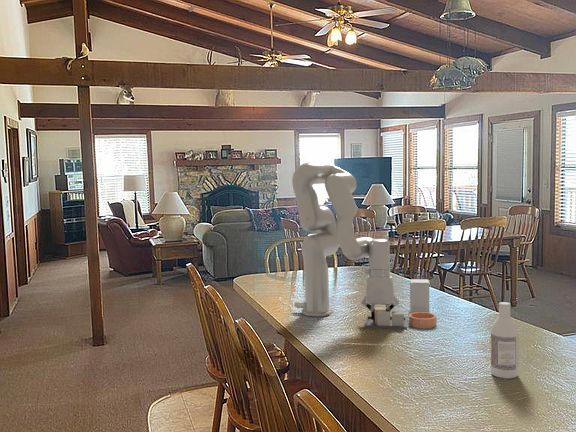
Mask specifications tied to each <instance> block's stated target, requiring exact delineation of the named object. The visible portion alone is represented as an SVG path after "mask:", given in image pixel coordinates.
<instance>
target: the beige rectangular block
mask: <svg viewBox="0 0 576 432" xmlns="http://www.w3.org/2000/svg"><path fill="white" fill-rule="evenodd" d="M374 309H375V324H377V312H378V311H386V307H378V306H377V307H375V306H374Z"/></svg>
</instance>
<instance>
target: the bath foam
mask: <svg viewBox="0 0 576 432" xmlns="http://www.w3.org/2000/svg"><path fill="white" fill-rule="evenodd" d="M490 373H491V375H492V376H494V377H497V378H499V379H506V380H508V379H509V380H510V379H514V378H517V377H518V375H519V331H518V327H517V324H516V323H515V321H514V319H513V318H512V316H511V303H510V302H506V301H501V302H498V316H497V318H496V319H495V320H494V322H493V323H492V326H491V330H490Z"/></svg>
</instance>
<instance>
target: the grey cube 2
mask: <svg viewBox="0 0 576 432" xmlns="http://www.w3.org/2000/svg"><path fill="white" fill-rule="evenodd" d="M391 317H392V326H404V317H405V311H392V310H391Z"/></svg>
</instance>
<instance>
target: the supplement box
mask: <svg viewBox="0 0 576 432" xmlns="http://www.w3.org/2000/svg"><path fill="white" fill-rule="evenodd" d="M409 312H410V313H409V314H411V313H415V312H428V313H430V281H429V279H426V278H425V279H423V278H422V279H418V278H417V279H415V278H414V279H412V278H411V279H410V280H409Z"/></svg>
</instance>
